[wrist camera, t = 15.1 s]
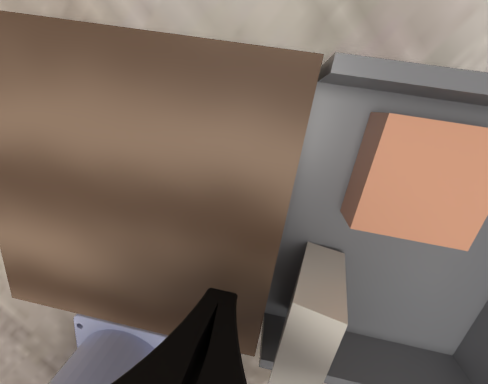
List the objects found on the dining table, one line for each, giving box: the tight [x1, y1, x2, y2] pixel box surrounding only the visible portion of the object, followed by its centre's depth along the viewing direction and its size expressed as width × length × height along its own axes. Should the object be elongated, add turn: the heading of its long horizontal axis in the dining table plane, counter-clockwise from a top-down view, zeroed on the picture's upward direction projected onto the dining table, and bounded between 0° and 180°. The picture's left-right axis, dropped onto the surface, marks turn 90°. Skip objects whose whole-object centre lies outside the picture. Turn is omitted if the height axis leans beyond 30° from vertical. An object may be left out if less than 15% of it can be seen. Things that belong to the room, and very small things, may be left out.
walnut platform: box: [0, 11, 324, 356], centre depth 13 cm, size 15×15×3 cm
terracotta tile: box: [340, 112, 488, 251], centre depth 11 cm, size 5×5×2 cm
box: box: [259, 52, 488, 384], centre depth 12 cm, size 15×12×4 cm
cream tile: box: [268, 242, 348, 384], centre depth 12 cm, size 5×5×2 cm
